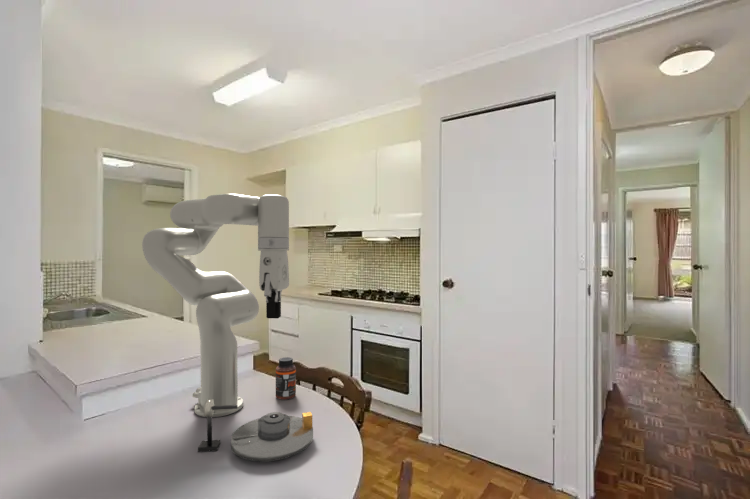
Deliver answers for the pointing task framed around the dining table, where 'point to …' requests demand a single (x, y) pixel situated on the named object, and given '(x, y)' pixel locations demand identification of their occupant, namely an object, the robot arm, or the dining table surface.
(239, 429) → the turntable
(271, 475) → the dining table surface
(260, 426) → the cover
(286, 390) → the supplement bottle
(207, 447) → the stand
